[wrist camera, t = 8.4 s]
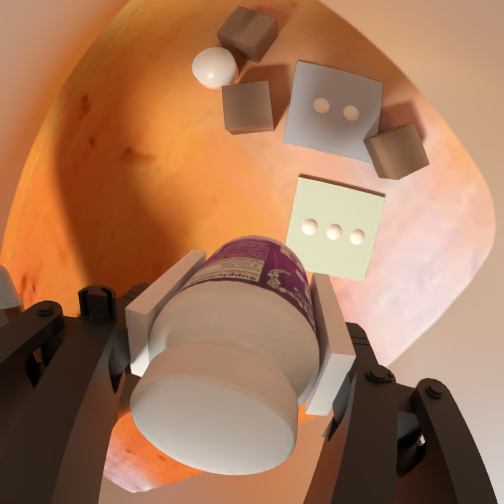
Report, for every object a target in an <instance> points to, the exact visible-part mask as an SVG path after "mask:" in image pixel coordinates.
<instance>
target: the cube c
mask: <svg viewBox="0 0 504 504" xmlns="http://www.w3.org/2000/svg"><path fill="white" fill-rule="evenodd" d="M363 142H364V144H365V146H366V148H367V151H368V153H369V155H370V157H371V160H372V162H373V165H374V167H375V169H376V172H377V174H378V177H379V178H386V179H395V180H399V179H401V178H403V177H405V176H407V175H409V174H411V173H413V172H415V171H417V170H419V169H421V168H423V167H425V166H427V165H429V161H428V158H427V155H426V153H425V150H424V147H423V145H422V142H421V139H420V137H419V134H418V132H417V130H416V127H415V125H414V123H411V124H407V125H403V126H398V127H394V128H391V129H389V130H387V131H384V132H382V133H379V134H377V135H374V136H372V137H370V138H367V139H365V140H363Z"/></svg>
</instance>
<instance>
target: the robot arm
mask: <svg viewBox="0 0 504 504" xmlns="http://www.w3.org/2000/svg"><path fill="white" fill-rule="evenodd" d="M206 254H207V252H205V251H199V250H194V249H192V250H191V251H190V252H189V253H187V254H186V255H185V256H184V257H183V258H181V259H180V260H179V261H178V262H177V263H176V264H174V265H173V266H172V267H171V268H170V269H169V270H167V271H166V272H165V273H164V274H163V275H162V276H161V277H159V278H158V279H157V280H156V281H155V282H154V283H153V284H148V283H141V284H139V285H136V286H134V287H132V288H131V289H130V290H129V291H128V292H126V293H125V294H124V295H123V296H122V297H120V298H119V299H118V300H117V297H116V293H115V291H114V290H113V289H111V288H109V287H106V286H88V287H86V288H83V289H81V290H80V291H79V292H78V296H79V303H80V311H81V316H80V317H79V318H75V317H68V316H63V311H62V307H61V305H60V304H58V303H57V302H54V301H49V300H48V301H47V300H46V301H42V302H38V303H36V304H34V305H32V306H31V307H30V308H28V309H27V310H25V309H24V307H23V302H22V299H21V298H20V297H19V295H18V293H17V291H16V289H15V286H14V284H13V281H12V279H11V277H10V274H9V272H8V271H7V269H6V268H5V267H3V266H2V265H0V504H98V500H99V493H100V487H101V481H102V476H103V470H104V465H105V460H106V455H107V450H108V445H109V441H110V436H111V432H112V429H113V427H114V426H115V424H116V423H117V421H118V420H119V419H120V418H121V417H122V416H124V415H125V414H127V413H128V412H130V398H131V395H132V392H133V390H134V389H135V387H136V385H137V384H138V382H139V380H140V379H141V377H142V376H143V374H144V372H145V371H146V369H147V367H148V365H149V363H150V356H149V339H150V333H151V330H152V327H153V325H154V322H155V320H156V318H157V316H158V315H159V313H160V312H161V311H162V309H163V308H164V306H165V305H166V304H167V302H168V301H169V300H170V299H171V298H172V297H174V296H175V294H176V293H177V292H178V291H179V290H180V289H181V288H182V287H183V286H184V285H185V284H186V282H187V281H188V280H189V279H190V278H191V277H192V276H193V275H194V274H195V273H196V272H197V271H198V270H199V269H200V268H201V266H202V265H203V264H204V263H205V262H206ZM309 290H310V295H311V301H312V307H313V314H314V321H315V327H316V333H317V338H318V345H319V373H318V377H317V380H316V383H315V386H314V388H313V390H312V392H311V393H310V395H309V396H308V398H307V399H306V400H305V411H306V414H311V415H324V416H327V415H328V413H329V411H330V409H331V407H332V405H333V412H334V416H333V418H332V420H331V421H330V423H329V425H328V426H327V428H326V430H325V432H324V433H323V435H322V437H325V440H324V444H323V447H322V450H321V453H320V457H319V460H318V463H317V466H316V469H315V472H314V475H313V478H312V481H311V484H310V487H309V489H308V492H307V495H306V497H305V500H304V503H303V504H498V503H497V500H496V496H495V493H494V490H493V487H492V485H491V482H490V479H489V476H488V473H487V471H486V468H485V465H484V463H483V461H482V458H481V456H480V453H479V451H478V449H477V446H476V444H475V442H474V439H473V437H472V435H471V433H470V431H469V428H468V426H467V424H466V422H465V420H464V418H463V416H462V414H461V412H460V410H459V408H458V406H457V404H456V402H455V401H454V399H453V397H452V395H451V393H450V391H449V390H448V388H447V387H446V386H445V385H444V384H443V383H442V382H440V381H438V380H436V379H431V378H426V379H422V380H421V381H419V383H418V384H417V386H416V387H415V388H412V387H408V386H404V385H401V384H398V383H396V380H395V377H394V375H393V374H392V372H391V371H390V370H388V369H387V368H386V367H384V366H382V365H379V364H378V362H377V359H376V357H375V354H374V352H373V350H372V347H371V346H370V342H369V340H368V338H367V335H366V333H365V331H364V330H363V329H362V328H361V327H360V326H359V325H358V324H356V323H349V322H345V321H344V318H343V315H342V312H341V309H340V306H339V304H338V301H337V298H336V295H335V292H334V290H333V287H332V284H331V282H330V279H329V276H328V275H326V274H321V273H316V272H313V275H312V279H311V283H310V287H309ZM422 435H423V437H424V440H425V443H424V444H422V443H421V440H420V438H421V436H422Z"/></svg>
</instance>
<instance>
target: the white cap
mask: <svg viewBox="0 0 504 504" xmlns="http://www.w3.org/2000/svg"><path fill="white" fill-rule="evenodd" d="M192 72H193V74H194V76H195V77H196V78H197V79H198V80H199V81H200V82H201V84H202V85H203V86H204V87H205V88H207V89H208V90H211V91H222V87H221V86H226V85H233V84H235V82H236V81H237V79H238V76H239V70H238V67H237V65H236V62H235V60H234V58H233V56H232V54H231V53H230V52H229V51H228V50H226V49H224V48H221V47H211V48H207V49H205V50H203V51H201V52H200V53H199V54H198V55H197V56H196V57H195V59H194V60H193V63H192Z"/></svg>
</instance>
